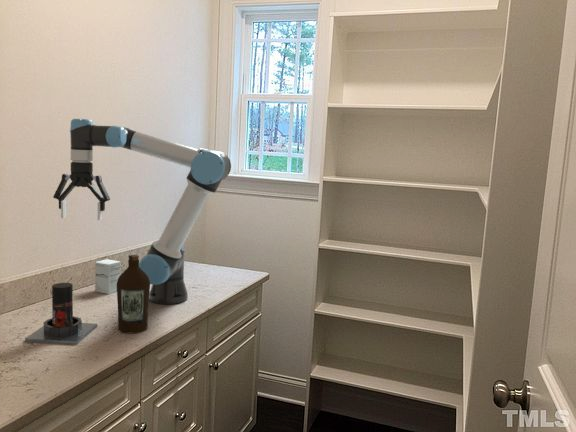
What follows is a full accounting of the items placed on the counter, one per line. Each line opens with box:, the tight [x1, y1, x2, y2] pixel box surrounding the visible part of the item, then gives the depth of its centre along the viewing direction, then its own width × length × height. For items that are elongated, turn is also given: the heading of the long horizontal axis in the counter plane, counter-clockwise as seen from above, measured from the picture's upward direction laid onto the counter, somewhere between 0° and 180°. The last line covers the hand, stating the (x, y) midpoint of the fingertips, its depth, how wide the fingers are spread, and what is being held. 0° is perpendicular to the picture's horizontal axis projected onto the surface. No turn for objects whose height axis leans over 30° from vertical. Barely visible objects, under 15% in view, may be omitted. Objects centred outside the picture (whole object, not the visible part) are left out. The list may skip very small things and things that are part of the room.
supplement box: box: [94, 258, 122, 295], centre depth 211 cm, size 7×7×13 cm
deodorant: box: [51, 282, 74, 327], centre depth 162 cm, size 6×6×15 cm
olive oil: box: [116, 254, 151, 334], centre depth 169 cm, size 11×11×25 cm
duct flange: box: [24, 315, 98, 346], centre depth 163 cm, size 16×16×4 cm
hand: (81, 218), depth 190 cm, fingers open, 13 cm apart
